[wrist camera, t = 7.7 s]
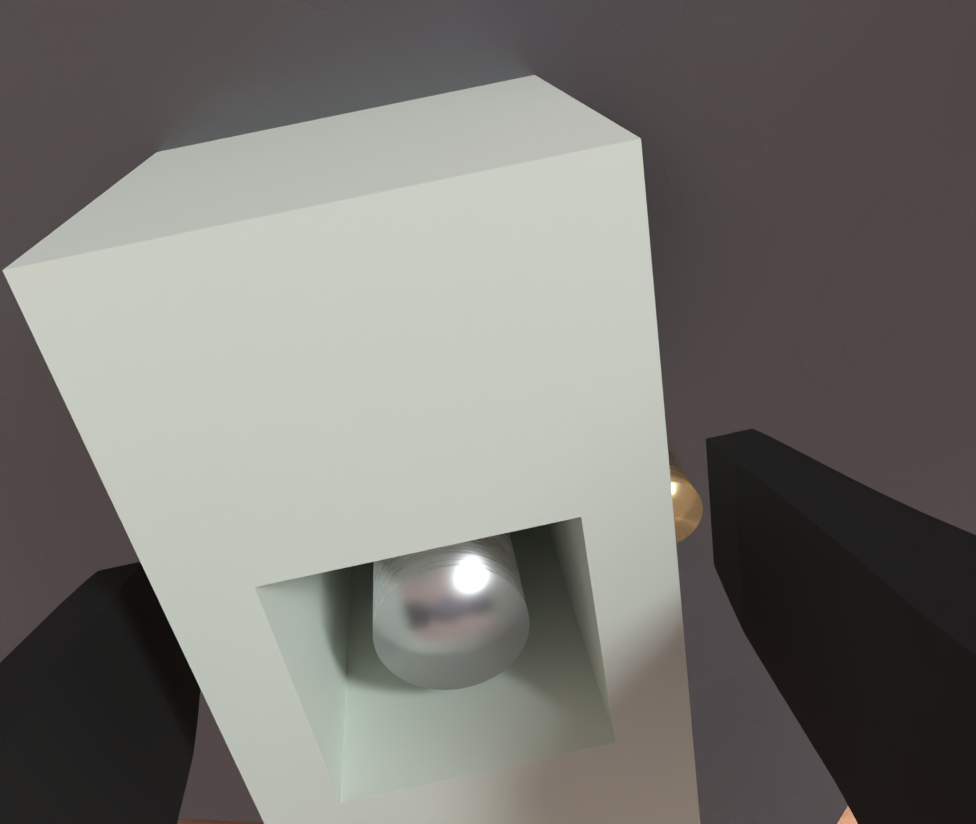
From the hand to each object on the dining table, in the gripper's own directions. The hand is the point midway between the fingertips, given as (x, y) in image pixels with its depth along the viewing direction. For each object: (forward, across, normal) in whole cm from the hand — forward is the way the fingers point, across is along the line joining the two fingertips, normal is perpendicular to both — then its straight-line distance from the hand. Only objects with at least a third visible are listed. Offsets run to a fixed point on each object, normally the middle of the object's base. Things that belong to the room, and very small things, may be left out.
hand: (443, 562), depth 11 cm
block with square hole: (+3, 0, 0) cm, 3 cm away
